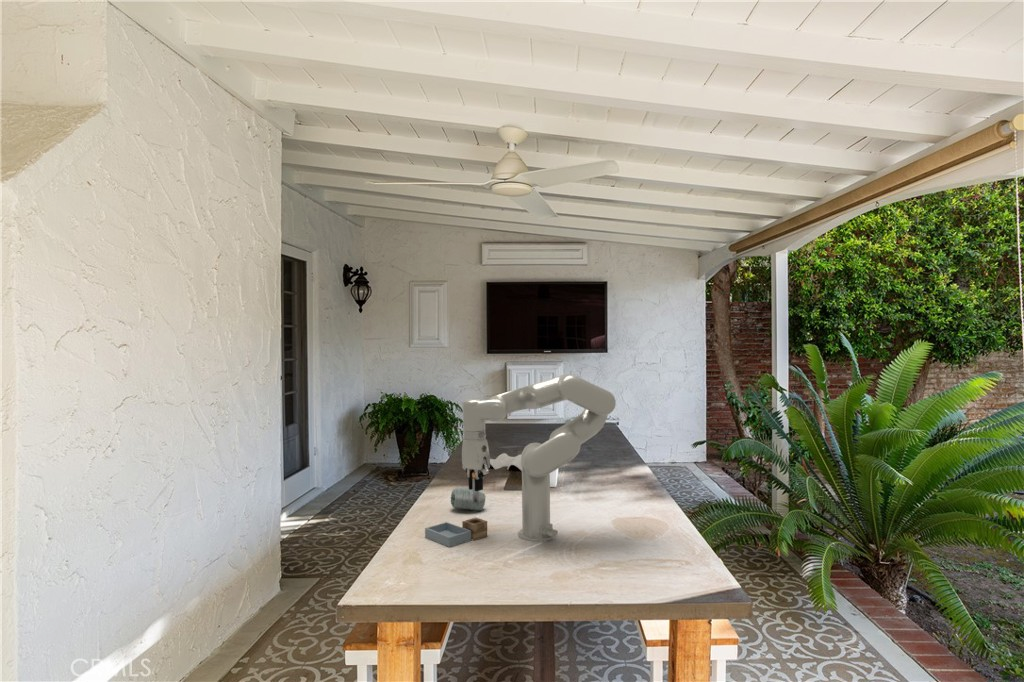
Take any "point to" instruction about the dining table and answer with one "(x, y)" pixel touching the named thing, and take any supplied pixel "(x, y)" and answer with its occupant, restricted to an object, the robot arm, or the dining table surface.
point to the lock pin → (474, 493)
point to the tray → (448, 534)
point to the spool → (466, 499)
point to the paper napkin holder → (506, 461)
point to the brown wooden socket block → (476, 527)
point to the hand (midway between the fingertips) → (475, 489)
